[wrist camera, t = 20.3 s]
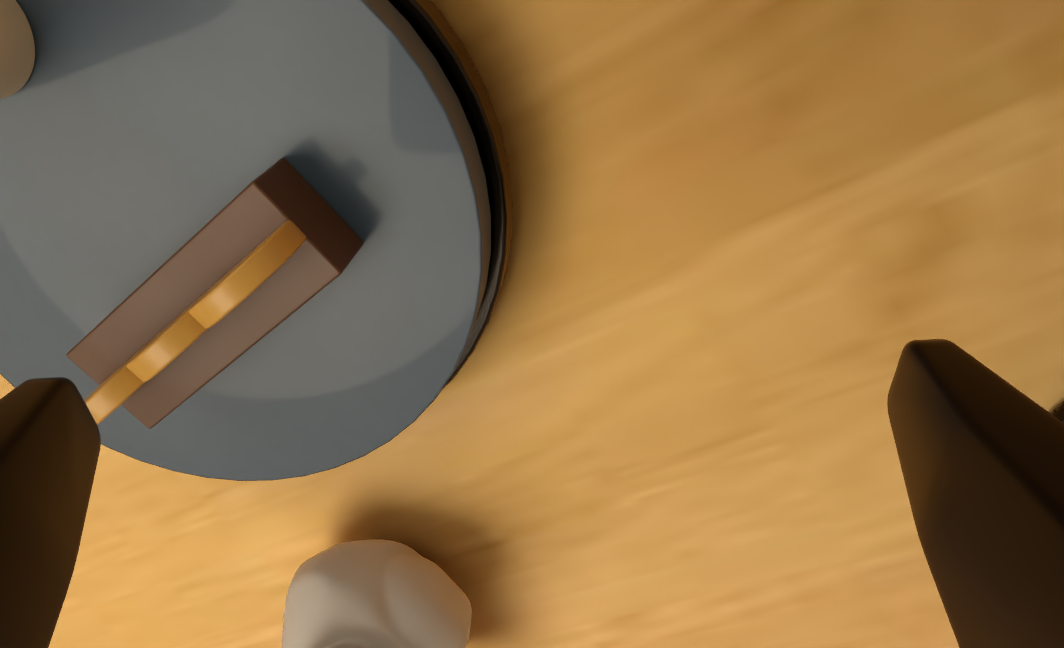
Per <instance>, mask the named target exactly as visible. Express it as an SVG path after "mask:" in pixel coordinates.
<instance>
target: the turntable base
mask: <svg viewBox="0 0 1064 648" xmlns="http://www.w3.org/2000/svg"><path fill="white" fill-rule="evenodd" d="M388 1H389V2H390V3H391V4H392V5H393V6H394V7H395V8H396V9H397V10H398V12H399V13H400V14H401V15H402V16H403V17H404V18H405V19H406V20H407V21H408V22H409V23H410V25H411V26H412V28H413V29H414V30H415V32H416V33H417V34H418V36H419V37H420V38H421V40H422V41H423V42H424V44H425V45H426V46H427V48H428V49H429V50H430V52H431V53H432V54H433V56H434V57H435V58H436V60H437V62H438V64H439V65H440V67H441V69H442V71H443V72H444V74H445V76H446V78H447V79H448V81H449V83H450V85H451V86H452V88H453V90H454V92H455V93H456V95H457V97H458V99H459V101H460V104H461V106H462V108H463V111H464V113H465V116H466V118H467V120H468V123H469V125H470V128H471V130H472V132H473V135H474V137H475V141H476V144H477V148H478V152H479V155H480V159H481V162H482V166H483V170H484V173H485V177H486V185H487V192H488V199H489V206H490V213H491V255H490V262H489V269H488V276H487V284H486V288H485V292H484V295H483V299H482V302H481V306H480V309H479V312H478V316H477V319H476V322H475V324H474V327H473V330H472V332H471V335H470V337H469V340H468V342H467V344H466V347H465V349H464V351H463V353H462V355H461V357H460V359H459V362H458V364H457V366H456V368H455V370H454V372H453V373H452V375H451V376H450V378H449V379H448V381H447V382H446V384H445V385H444V387H445V386H446V385H447V384H448V383H449V382H450V381H451V380H452V379H453V378H454V377H455V376H456V375H457V373H458V372H459V371H460V369H461V368H462V366H463V365H464V364H465V362H466V361H467V360H468V358H469V357H470V355H471V354H472V353H473V351H474V350H475V348H476V346H477V344H478V342H479V340H480V338H481V336H482V334H483V332H484V330H485V328H486V326H487V324H488V323H489V320H490V317H491V314H492V312H493V309H494V306H495V303H496V300H497V297H498V294H499V291H500V288H501V285H502V282H503V280H504V277H505V272H506V267H507V262H508V256H509V251H510V245H511V237H512V212H513V201H512V191H511V180H510V170H509V163H508V159H507V155H506V150H505V146H504V142H503V137H502V133H501V129H500V125H499V123H498V120H497V117H496V115H495V112H494V109H493V106H492V104H491V101H490V98H489V96H488V93H487V90H486V88H485V86H484V84H483V82H482V80H481V78H480V76H479V74H478V72H477V70H476V68H475V66H474V64H473V62H472V61H471V59H470V57H469V55H468V53H467V51H466V49H465V47H464V46H463V44H462V43H461V42H460V40H459V39H458V37H457V36H456V34H455V33H454V31H453V30H452V28H451V27H450V26H449V24H448V23H447V21H446V20H445V18H444V17H443V15H442V14H441V12H440V11H439V10H438V9H437V8H436V6H435V5H434V4H433V3H432V2H431V1H430V0H388ZM444 387H443V388H444ZM443 388H442V389H443Z"/></svg>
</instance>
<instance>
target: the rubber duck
mask: <svg viewBox="0 0 1064 648" xmlns="http://www.w3.org/2000/svg"><path fill="white" fill-rule="evenodd" d="M471 621H472V607H471V603H470V601H469V599H468V597H467V596H466V595H465V593H464V592H463V591H462V590H461V589H460V588H459V587H458V586H457V585H456V584H455V583H454V581H453V580H452V579H451V578H450V577H449V576H448V575H447V574H446V573H445V572H444V571H443V570H442V569H441V568H440V567H439V566H438V565H436V564H435V563H433V562H432V561H430V560H428V559H426V558H423V557H422V556H421V555H420V554H418V553H417V552H416V551H415V550H413V549H412V548H410V547H408V546H407V545H404V544H402V543H399V542H396V541H391V540H384V539H367V540H356V541H349V542H343V543H339V544H336V545H334V546H332V547H330V548H328V549H326V550H324V551H322V552H321V553H319V554H317V555H315V556H313V557H312V558H310V559H308V560H307V561H305V562H304V563H302V564H301V565H300V567H299V568H298V570H297V571H296V573H295V575H294V577H293V579H292V581H291V583H290V586H289V589H288V592H287V596H286V602H285V612H284V622H283V635H282V648H465V647H466V645H467V642H468V639H469V635H470V629H471Z"/></svg>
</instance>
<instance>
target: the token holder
mask: <svg viewBox="0 0 1064 648" xmlns="http://www.w3.org/2000/svg"><path fill="white" fill-rule="evenodd" d="M490 255H491V213H490V206H489V199H488V192H487V185H486V177H485V173H484V170H483V166H482V162H481V159H480V155H479V152H478V148H477V144H476V141H475V137H474V135H473V132H472V130H471V128H470V125H469V123H468V120H467V118H466V116H465V113H464V111H463V108H462V106H461V104H460V101H459V99H458V97H457V95H456V93H455V92H454V90H453V88H452V86H451V85H450V83H449V81H448V79H447V78H446V76H445V74H444V72H443V71H442V69H441V67H440V65H439V64H438V62H437V60H436V58H435V57H434V56H433V54H432V53H431V52H430V50H429V49H428V48H427V46H426V45H425V44H424V42H423V41H422V40H421V38H420V37H419V36H418V34H417V33H416V32H415V30H414V29H413V28H412V26H411V25H410V23H409V22H408V21H407V20H406V19H405V18H404V17H403V16H402V15H401V14H400V13H399V12H398V10H397V9H396V8H395V7H394V6H393V5H392V4H391V3H390V2H389V1H388V0H0V374H1V375H2V376H3V377H4V378H5V379H6V380H7V381H8V382H10V383H11V384H12V385H13V386H14V387H15V388H16V387H17V386H19V385H20V384H22V383H23V382H25V381H27V380H29V379H33V378H50V377H64V378H68V379H70V380H71V381H72V382H73V383H74V384H75V385H76V387H77V389H78V390H79V392H80V394H81V396H82V398H83V400H84V401H85V403H86V405H87V407H88V409H89V411H90V412H91V414H92V416H93V418H94V420H95V422H96V423H97V426H98V428H99V432H100V439H101V443H100V444H102V445H104V446H106V447H108V448H110V449H113V450H115V451H118V452H120V453H122V454H125V455H127V456H130V457H132V458H135V459H137V460H139V461H142V462H146V463H149V464H152V465H156V466H159V467H162V468H165V469H169V470H172V471H176V472H181V473H186V474H191V475H196V476H201V477H206V478H216V479H226V480H237V481H257V480H278V479H286V478H293V477H301V476H306V475H310V474H314V473H318V472H321V471H325V470H329V469H333V468H336V467H338V466H341V465H343V464H346V463H348V462H351V461H353V460H355V459H358V458H360V457H363V456H365V455H366V454H368V453H370V452H371V451H373V450H375V449H377V448H378V447H380V446H382V445H383V444H385V443H387V442H389V441H390V440H392V439H393V438H394V437H395V436H397V435H398V434H399V433H400V432H402V431H403V430H404V429H405V428H407V427H408V426H409V425H410V424H412V423H413V422H414V421H415V420H416V419H417V418H418V417H419V416H420V415H421V414H422V413H423V412H424V411H425V409H426V408H427V407H428V406H429V405H430V404H431V403H432V402H433V401H434V400H435V399H436V397H437V396H438V394H439V393H440V391H441V390H442V388H443V387H444V385H445V384H446V382H447V381H448V379H449V378H450V376H451V375H452V373H453V372H454V370H455V368H456V366H457V364H458V362H459V359H460V357H461V355H462V353H463V351H464V349H465V347H466V344H467V342H468V340H469V337H470V335H471V332H472V330H473V327H474V324H475V322H476V319H477V316H478V312H479V309H480V306H481V302H482V299H483V295H484V292H485V288H486V284H487V276H488V269H489V262H490Z"/></svg>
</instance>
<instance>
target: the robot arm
mask: <svg viewBox="0 0 1064 648" xmlns="http://www.w3.org/2000/svg"><path fill="white" fill-rule="evenodd" d="M888 414H889V419H890V423H891V427H892V431H893V435H894V439H895V443H896V447H897V451H898V455H899V460H900V464H901V468H902V472H903V476H904V480H905V484H906V488H907V492H908V496H909V501H910V505H911V509H912V513H913V517H914V521H915V524H916V528H917V532H918V535H919V539H920V542H921V545H922V548H923V551H924V554H925V556H926V559H927V562H928V565H929V567H930V570H931V573H932V575H933V578H934V581H935V583H936V586H937V589H938V591H939V594H940V597H941V599H942V602H943V605H944V607H945V610H946V613H947V615H948V618H949V621H950V623H951V626H952V629H953V631H954V634H955V637H956V639H957V642H958V645H959V647H960V648H1064V404H1063V405H1062V406H1061V407H1060V408H1059V409H1058V410H1057V411H1056V412H1055V413H1054V414H1053V415H1052V414H1050V413H1049V412H1048V411H1046V410H1045V409H1043V408H1042V407H1041V406H1039V405H1038V404H1037V403H1035V402H1034V401H1032V400H1031V399H1030V398H1028V397H1027V396H1026V395H1024V394H1023V393H1021V392H1020V391H1019V390H1017V389H1016V388H1015V387H1013V386H1012V385H1011V384H1009V383H1008V382H1006V381H1005V380H1004V379H1002V378H1001V377H1000V376H998V375H997V374H995V373H994V372H993V371H991V370H990V369H989V368H987V367H986V366H984V365H983V364H982V363H980V362H979V361H978V360H976V359H975V358H974V357H972V356H971V355H969V354H968V353H967V352H965V351H964V350H963V349H961V348H960V347H958V346H957V345H956V344H954V343H952V342H951V341H948V340H945V339H931V340H913V341H910V342H909V343H907V344H906V345H905V347H904V349H903V351H902V353H901V356H900V359H899V363H898V366H897V369H896V372H895V375H894V378H893V381H892V384H891V387H890V390H889V394H888ZM100 443H101V439H100V432H99V428H98V426H97V423H96V422H95V420H94V418H93V416H92V414H91V412H90V411H89V409H88V407H87V405H86V403H85V401H84V400H83V398H82V396H81V394H80V392H79V390H78V389H77V387H76V385H75V384H74V383H73V382H72V381H71V380H70V379H68V378H64V377H50V378H33V379H29V380H27V381H25V382H23V383H22V384H20V385H19V386H17V387H16V388H15V389H14V390H12V391H11V392H10V393H8V394H7V395H6V396H4V397H3V398H2V399H0V648H48V647H49V644H50V641H51V638H52V635H53V632H54V629H55V626H56V623H57V620H58V617H59V614H60V611H61V608H62V605H63V602H64V599H65V596H66V593H67V590H68V587H69V584H70V580H71V577H72V574H73V570H74V566H75V562H76V558H77V554H78V550H79V545H80V541H81V536H82V531H83V526H84V522H85V517H86V512H87V508H88V503H89V498H90V494H91V489H92V484H93V480H94V475H95V470H96V466H97V461H98V456H99V452H100Z"/></svg>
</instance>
